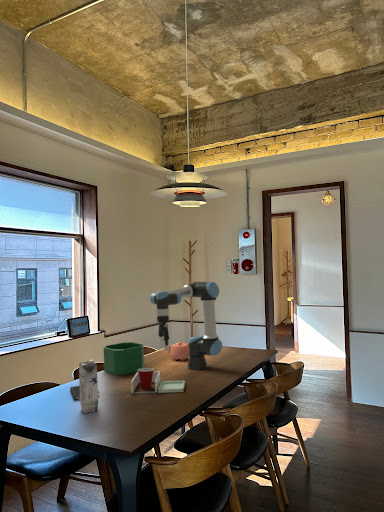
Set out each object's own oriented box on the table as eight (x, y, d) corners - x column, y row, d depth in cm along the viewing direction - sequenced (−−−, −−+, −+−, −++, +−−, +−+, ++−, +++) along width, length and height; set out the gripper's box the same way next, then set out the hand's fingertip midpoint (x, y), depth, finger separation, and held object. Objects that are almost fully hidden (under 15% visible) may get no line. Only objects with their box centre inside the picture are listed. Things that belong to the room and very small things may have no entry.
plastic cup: (158, 386, 256) (157, 367, 257) (149, 390, 247) (148, 371, 247) (144, 384, 261) (143, 366, 262) (134, 389, 252) (134, 370, 252)
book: (70, 391, 254) (70, 387, 254) (93, 388, 260) (93, 383, 260) (74, 401, 234) (73, 396, 234) (99, 397, 240) (99, 392, 240)
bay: (137, 382, 266) (137, 372, 266) (160, 381, 265) (160, 371, 266) (131, 393, 243) (130, 382, 243) (156, 392, 242) (156, 381, 243)
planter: (118, 376, 285) (117, 350, 286) (101, 370, 305) (100, 346, 305) (148, 368, 302) (147, 345, 303) (129, 363, 322) (129, 341, 322)
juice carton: (82, 414, 210) (80, 363, 211) (79, 408, 220) (78, 359, 221) (99, 411, 214) (97, 361, 214) (95, 405, 223) (94, 357, 224)
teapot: (196, 358, 331) (195, 341, 331) (191, 361, 319) (190, 344, 319) (171, 357, 338) (170, 340, 338) (165, 361, 326) (165, 343, 326)
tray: (161, 384, 259) (160, 381, 260) (184, 383, 259) (184, 380, 259) (158, 392, 242) (157, 389, 242) (183, 391, 241) (183, 388, 242)
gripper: (153, 314, 265) (154, 345, 264) (161, 317, 241) (162, 352, 240) (164, 313, 267) (165, 344, 266) (173, 316, 243) (174, 351, 243)
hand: (164, 348), depth 253 cm, fingers open, 13 cm apart
